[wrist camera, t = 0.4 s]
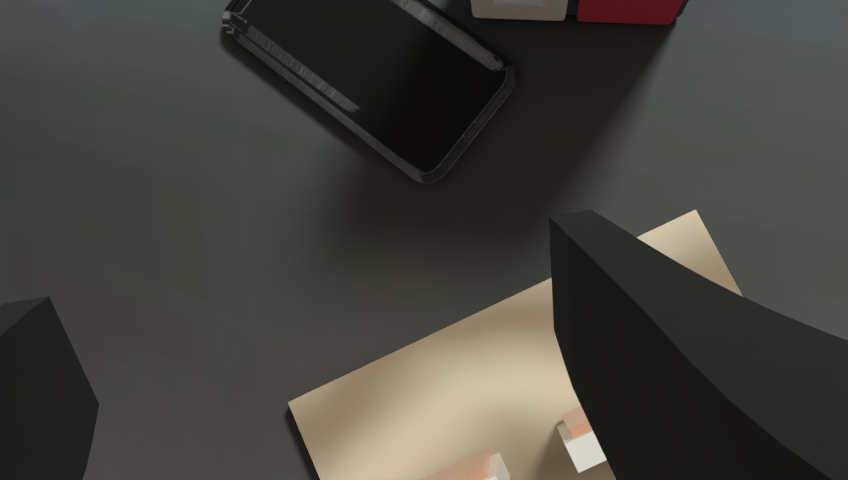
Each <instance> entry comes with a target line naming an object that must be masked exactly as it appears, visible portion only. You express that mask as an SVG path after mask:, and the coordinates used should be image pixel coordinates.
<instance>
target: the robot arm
mask: <svg viewBox="0 0 848 480" xmlns="http://www.w3.org/2000/svg"><path fill="white" fill-rule="evenodd" d="M549 227H550V251H551V274H552V298H553V321H554V332H555V335H556V338H557V341H558V345H559V348H560V351H561V354H562V357H563V361H564V364H565V367H566V370H567V373H568V376H569V379H570V382H571V385H572V387H573V390H574V392H575V394H576V396H577V398H578V400H579V403H580V405H581V407H582V409H583V411H584V413H585V415H586V417H587V419H588V422H589V424H590V426H591V428H592V430H593V432H594V434H595V436H596V438H597V440H598V443H599V445H600V447H601V449H602V451H603V453H604V455H605V457H606V459H607V461H608V463H609V465H610V468H611V470H612V472H613V474H614V476H615V478H616V480H848V340H845V339H842V338H839V337H837V336H834V335H831V334H828V333H826V332H823V331H821V330H818V329H816V328H813V327H811V326H809V325H806V324H804V323H801V322H799V321H796V320H794V319H791V318H789V317H786V316H784V315H782V314H779V313H777V312H774V311H772V310H770V309H768V308H766V307H763V306H761V305H759V304H757V303H755V302H753V301H750V300H748V299H746V298H744V297H742V296H740V295H738V294H736V293H734V292H732V291H731V290H729V289H727V288H725V287H723V286H721V285H719V284H717V283H715V282H713V281H711V280H709V279H707V278H705V277H703V276H702V275H700V274H698V273H696V272H694V271H692V270H691V269H689V268H687V267H685V266H683V265H682V264H680V263H678V262H677V261H675V260H673V259H671V258H670V257H668V256H666V255H665V254H663V253H661V252H660V251H658V250H656V249H655V248H653V247H651V246H650V245H648V244H646V243H645V242H643V241H641V240H640V239H638V238H637V237H635V236H633V235H632V234H630V233H628V232H627V231H625V230H624V229H622V228H620V227H619V226H617V225H615V224H614V223H612V222H611V221H609V220H607V219H606V218H604V217H602V216H601V215H599V214H597V213H595V212H593V211H591V210H588V211H582V212H576V213H570V214H563V215H557V216H551V217H549ZM98 407H99V403H98V401H97V399H96V397H95V395H94V392H93V390H92V388H91V386H90V384H89V382H88V380H87V377H86V375H85V373H84V371H83V369H82V367H81V364H80V362H79V360H78V358H77V356H76V354H75V351H74V349H73V347H72V345H71V343H70V341H69V338H68V336H67V334H66V332H65V330H64V328H63V325H62V323H61V321H60V319H59V317H58V315H57V312H56V310H55V308H54V306H53V304H52V302H51V299H50V297H43V298H37V299H31V300H24V301H18V302H12V303H6V304H4V305H3V306H1V307H0V480H82V478H83V476H84V473H85V470H86V466H87V462H88V458H89V453H90V449H91V444H92V440H93V435H94V429H95V424H96V418H97V413H98Z"/></svg>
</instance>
